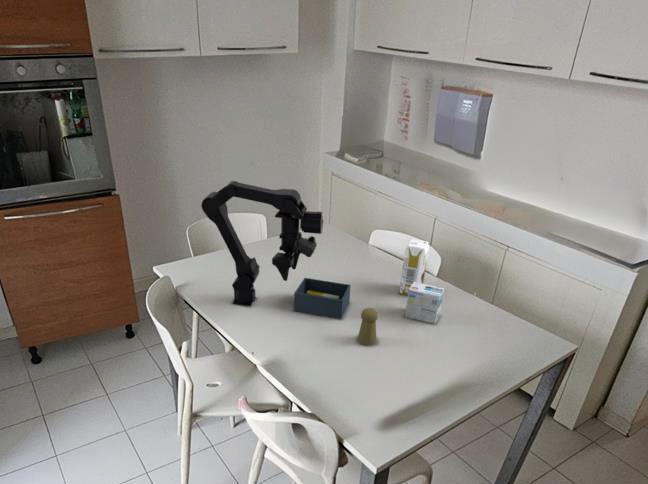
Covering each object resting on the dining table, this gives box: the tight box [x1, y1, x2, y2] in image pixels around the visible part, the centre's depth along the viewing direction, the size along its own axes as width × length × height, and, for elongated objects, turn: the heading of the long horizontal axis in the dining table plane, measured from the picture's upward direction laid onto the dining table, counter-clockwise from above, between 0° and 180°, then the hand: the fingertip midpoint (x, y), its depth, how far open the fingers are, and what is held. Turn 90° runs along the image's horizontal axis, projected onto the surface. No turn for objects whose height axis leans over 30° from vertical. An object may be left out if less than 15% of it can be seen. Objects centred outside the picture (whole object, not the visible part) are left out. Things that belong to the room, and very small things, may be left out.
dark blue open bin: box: [293, 277, 352, 320], centre depth 181 cm, size 17×12×7 cm
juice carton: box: [399, 238, 430, 296], centre depth 189 cm, size 8×9×19 cm
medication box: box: [306, 291, 341, 300], centre depth 181 cm, size 12×3×4 cm, turn 73°
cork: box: [357, 307, 379, 347], centre depth 162 cm, size 6×6×11 cm
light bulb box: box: [404, 282, 445, 325], centre depth 176 cm, size 11×7×11 cm, turn 65°
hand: (289, 274), depth 176 cm, fingers open, 9 cm apart
